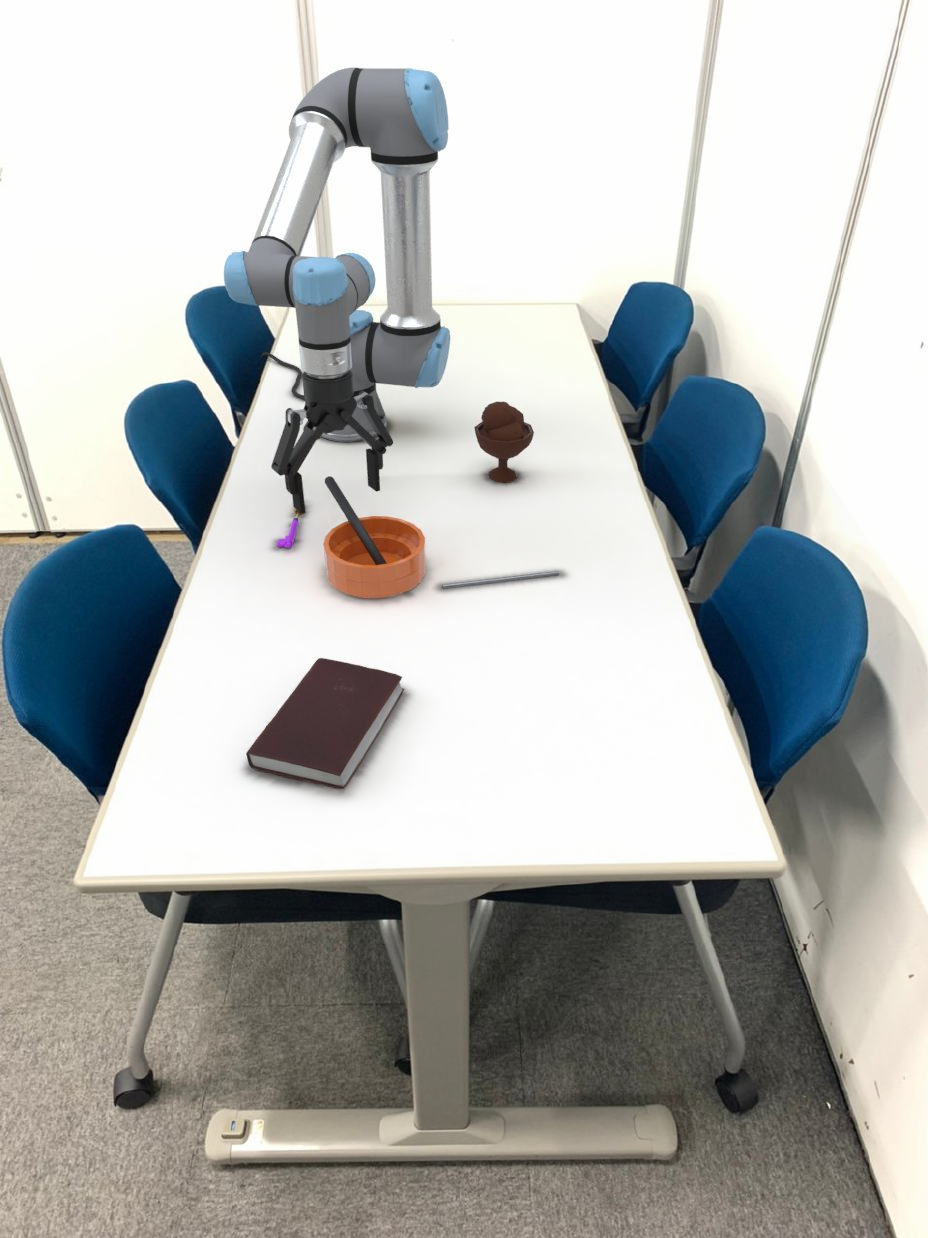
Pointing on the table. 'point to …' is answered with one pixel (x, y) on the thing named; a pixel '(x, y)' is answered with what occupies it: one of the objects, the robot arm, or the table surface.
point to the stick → (354, 521)
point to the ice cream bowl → (503, 437)
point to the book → (327, 723)
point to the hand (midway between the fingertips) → (337, 498)
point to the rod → (500, 579)
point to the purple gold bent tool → (290, 533)
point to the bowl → (357, 569)
